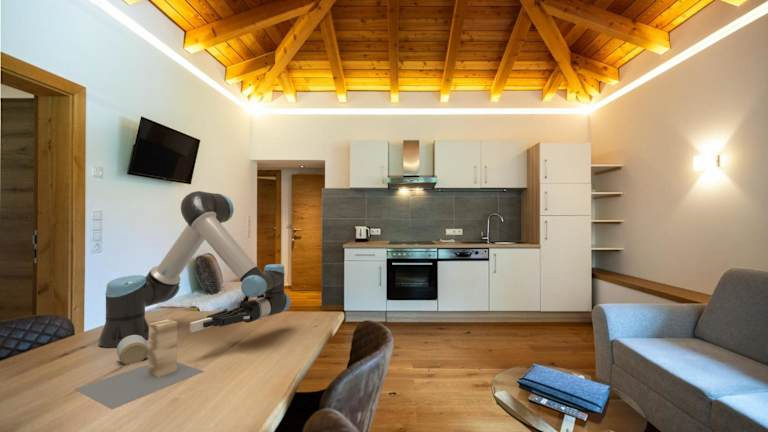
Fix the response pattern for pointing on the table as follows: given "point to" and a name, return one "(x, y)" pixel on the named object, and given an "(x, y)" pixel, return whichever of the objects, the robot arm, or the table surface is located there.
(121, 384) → the felt mat
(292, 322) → the table surface
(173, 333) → the beech block
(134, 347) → the ceramic mug
